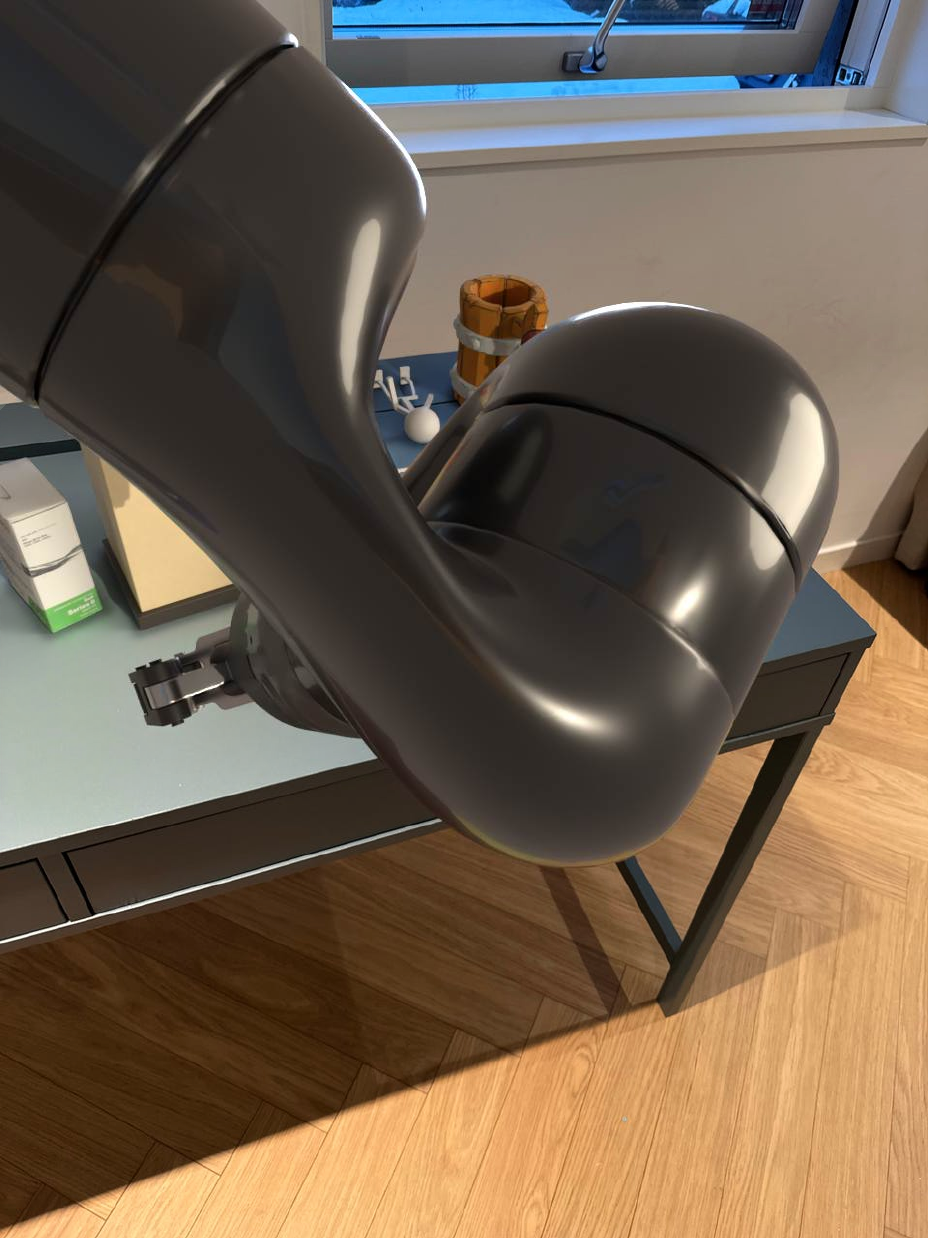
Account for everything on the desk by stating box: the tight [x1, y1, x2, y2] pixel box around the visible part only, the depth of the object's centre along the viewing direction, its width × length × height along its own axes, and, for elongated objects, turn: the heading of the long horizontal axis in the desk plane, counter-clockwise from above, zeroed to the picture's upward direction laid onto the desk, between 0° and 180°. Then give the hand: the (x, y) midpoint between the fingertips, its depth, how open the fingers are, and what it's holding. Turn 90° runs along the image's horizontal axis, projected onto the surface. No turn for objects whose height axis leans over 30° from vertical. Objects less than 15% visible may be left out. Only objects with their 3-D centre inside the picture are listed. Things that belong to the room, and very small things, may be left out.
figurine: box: [373, 365, 441, 444], centre depth 103 cm, size 6×6×15 cm
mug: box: [448, 274, 550, 406], centre depth 102 cm, size 11×16×15 cm, turn 24°
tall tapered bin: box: [78, 441, 241, 631], centre depth 73 cm, size 12×12×30 cm
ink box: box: [0, 457, 103, 634], centre depth 76 cm, size 9×5×12 cm, turn 42°
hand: (268, 650), depth 47 cm, fingers open, 8 cm apart
